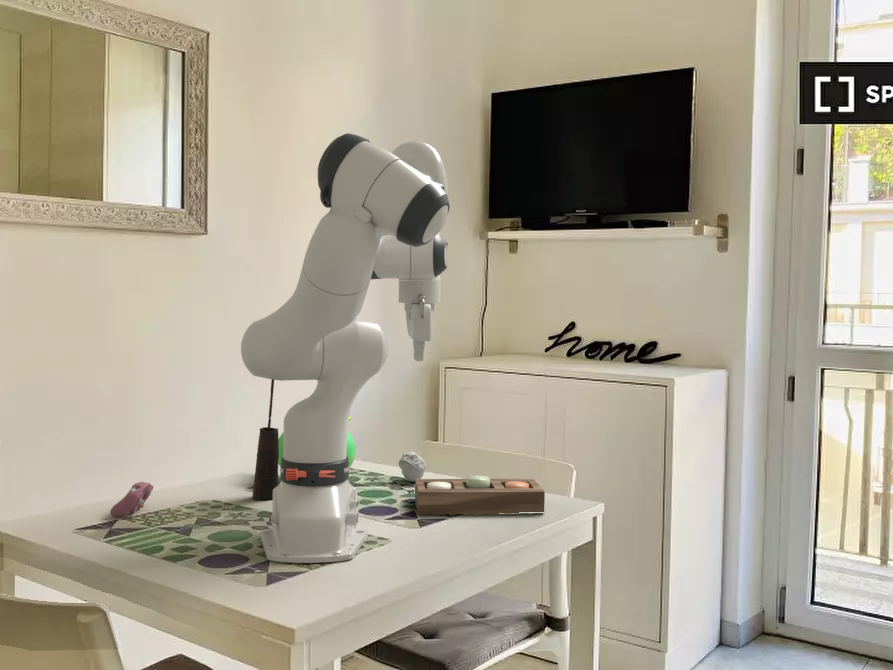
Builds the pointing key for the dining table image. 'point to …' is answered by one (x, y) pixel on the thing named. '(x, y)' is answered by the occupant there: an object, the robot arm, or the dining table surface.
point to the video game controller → (132, 500)
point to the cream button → (438, 485)
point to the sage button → (478, 482)
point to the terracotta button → (516, 484)
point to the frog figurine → (412, 466)
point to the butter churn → (267, 459)
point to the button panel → (478, 498)
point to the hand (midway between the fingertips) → (418, 360)
